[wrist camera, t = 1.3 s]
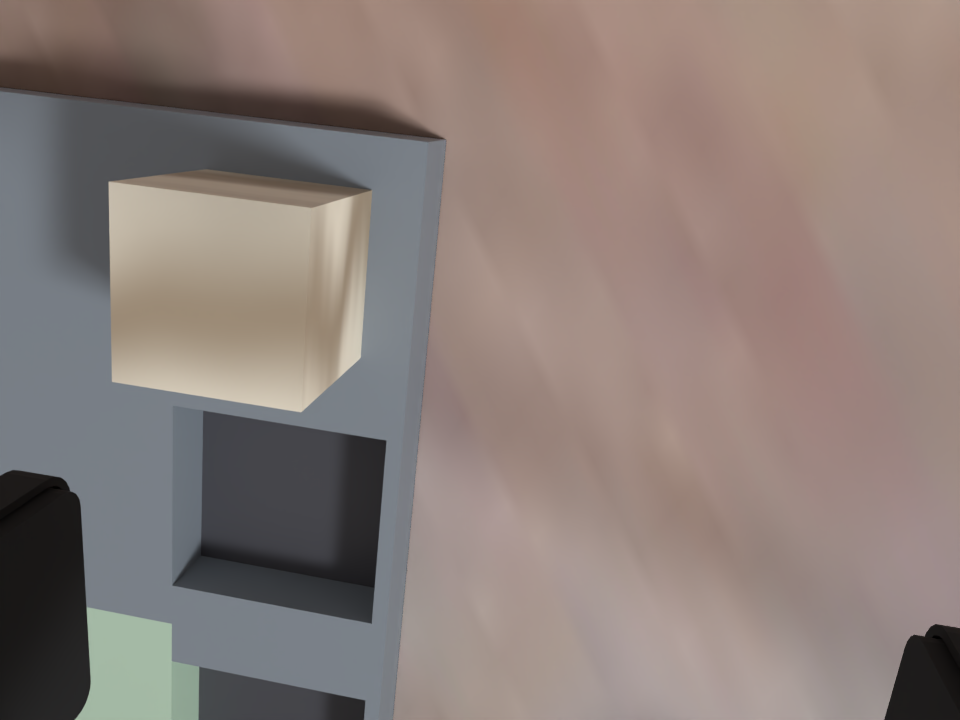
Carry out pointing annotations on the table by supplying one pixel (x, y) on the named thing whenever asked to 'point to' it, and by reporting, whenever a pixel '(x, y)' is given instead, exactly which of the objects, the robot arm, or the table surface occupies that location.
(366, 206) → the block
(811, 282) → the table surface
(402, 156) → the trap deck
